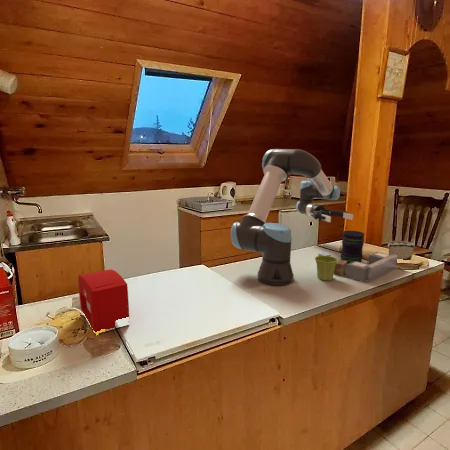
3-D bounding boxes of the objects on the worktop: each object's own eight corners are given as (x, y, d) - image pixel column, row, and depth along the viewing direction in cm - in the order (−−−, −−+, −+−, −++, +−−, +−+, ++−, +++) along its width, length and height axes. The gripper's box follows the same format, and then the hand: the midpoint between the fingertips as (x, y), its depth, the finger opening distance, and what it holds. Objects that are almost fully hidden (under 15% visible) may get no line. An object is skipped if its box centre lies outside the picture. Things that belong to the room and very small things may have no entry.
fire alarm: (81, 315, 114) (76, 272, 110) (113, 307, 120) (110, 266, 116) (94, 337, 101) (90, 289, 97) (130, 326, 107) (127, 281, 103)
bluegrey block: (317, 265, 162) (318, 253, 161) (323, 264, 164) (324, 252, 163) (323, 268, 159) (324, 255, 158) (330, 266, 161) (330, 254, 160)
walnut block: (331, 273, 153) (331, 262, 152) (335, 269, 158) (335, 259, 156) (342, 275, 150) (343, 264, 149) (346, 271, 155) (347, 261, 154)
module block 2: (367, 266, 162) (369, 254, 160) (375, 262, 167) (377, 251, 165) (384, 270, 156) (386, 258, 154) (392, 266, 161) (393, 255, 160)
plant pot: (309, 277, 148) (310, 258, 146) (322, 272, 153) (324, 254, 151) (327, 284, 140) (328, 263, 138) (340, 279, 146) (342, 259, 144)
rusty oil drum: (343, 258, 173) (346, 229, 170) (364, 262, 167) (366, 232, 164) (337, 263, 165) (339, 233, 162) (358, 267, 160) (361, 236, 156)
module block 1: (345, 276, 149) (346, 263, 147) (353, 272, 153) (354, 260, 152) (363, 281, 143) (364, 268, 142) (371, 277, 147) (372, 264, 146)
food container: (407, 260, 171) (410, 240, 168) (413, 264, 165) (415, 244, 162) (382, 259, 172) (384, 240, 170) (386, 263, 166) (388, 243, 164)
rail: (365, 280, 144) (367, 265, 143) (391, 267, 160) (393, 254, 159) (370, 281, 143) (371, 267, 141) (396, 268, 159) (397, 255, 157)
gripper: (333, 215, 196) (360, 223, 176) (296, 219, 187) (320, 227, 168) (334, 202, 194) (362, 209, 175) (296, 205, 185) (321, 212, 166)
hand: (341, 218), depth 171 cm, fingers open, 13 cm apart
